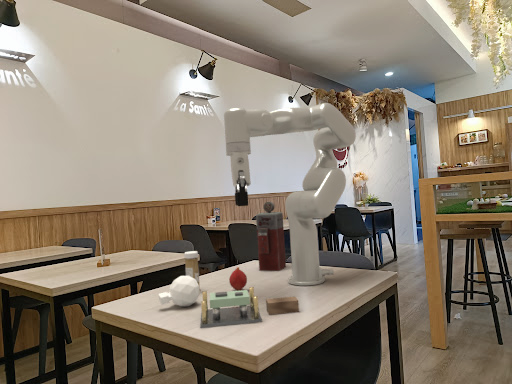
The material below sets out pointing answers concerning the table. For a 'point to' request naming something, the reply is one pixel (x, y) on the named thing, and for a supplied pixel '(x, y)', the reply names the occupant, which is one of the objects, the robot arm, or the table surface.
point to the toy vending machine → (270, 239)
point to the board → (229, 299)
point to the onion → (238, 279)
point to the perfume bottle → (181, 292)
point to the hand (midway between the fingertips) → (241, 205)
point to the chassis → (230, 313)
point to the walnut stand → (282, 305)
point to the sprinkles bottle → (192, 265)
